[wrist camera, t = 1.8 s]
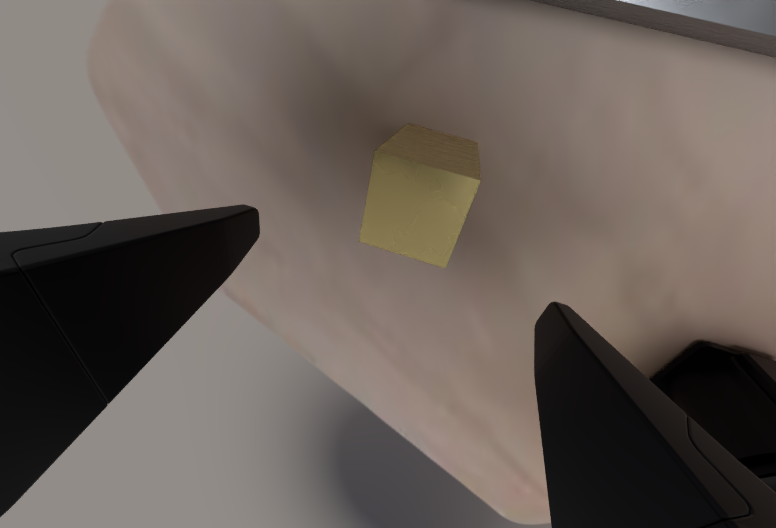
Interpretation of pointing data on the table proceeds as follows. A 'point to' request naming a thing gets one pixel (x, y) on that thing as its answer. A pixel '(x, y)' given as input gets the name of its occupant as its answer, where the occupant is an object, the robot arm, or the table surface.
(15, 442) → the robot arm
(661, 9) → the grey block holder tray
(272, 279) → the table surface
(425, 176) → the olive grained block
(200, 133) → the table surface
